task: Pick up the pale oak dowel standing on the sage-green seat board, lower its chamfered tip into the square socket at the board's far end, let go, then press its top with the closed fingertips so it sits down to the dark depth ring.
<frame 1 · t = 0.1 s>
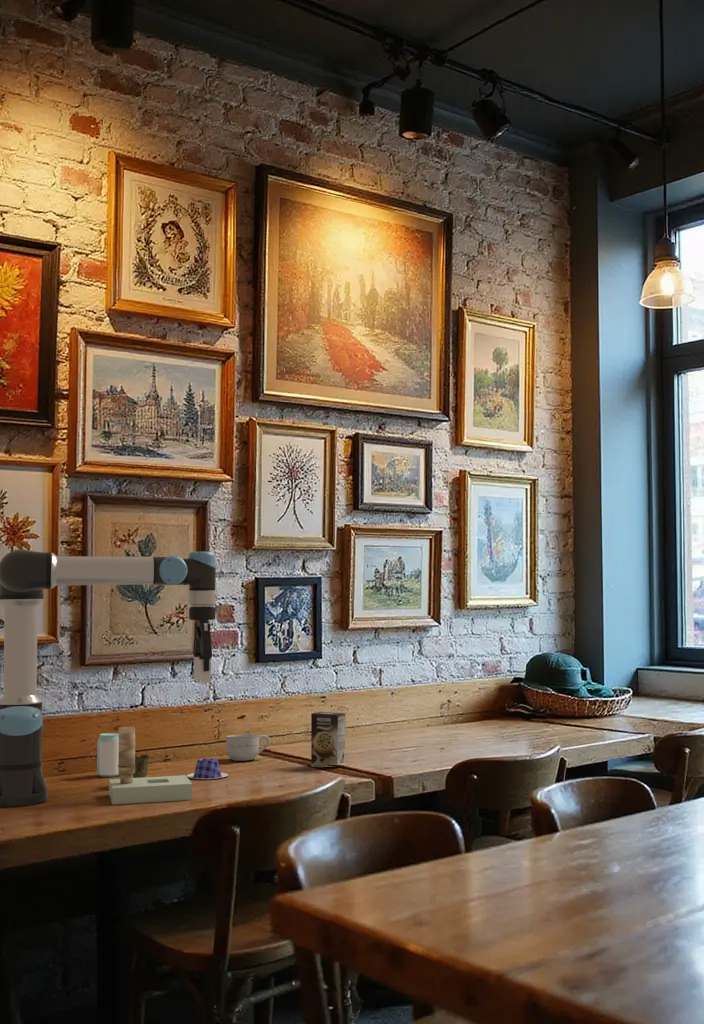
hand: (202, 681, 300), 28 cm above the table, fingers open, 13 cm apart
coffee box: (328, 767, 324), on the table
teacup: (247, 760, 338), on the table
cup: (135, 785, 294), on the table
pudding: (207, 778, 307), on the table
board: (150, 797, 276), on the table
can: (109, 776, 311), on the table
peg: (126, 782, 274), point 4 cm above the table, touching board
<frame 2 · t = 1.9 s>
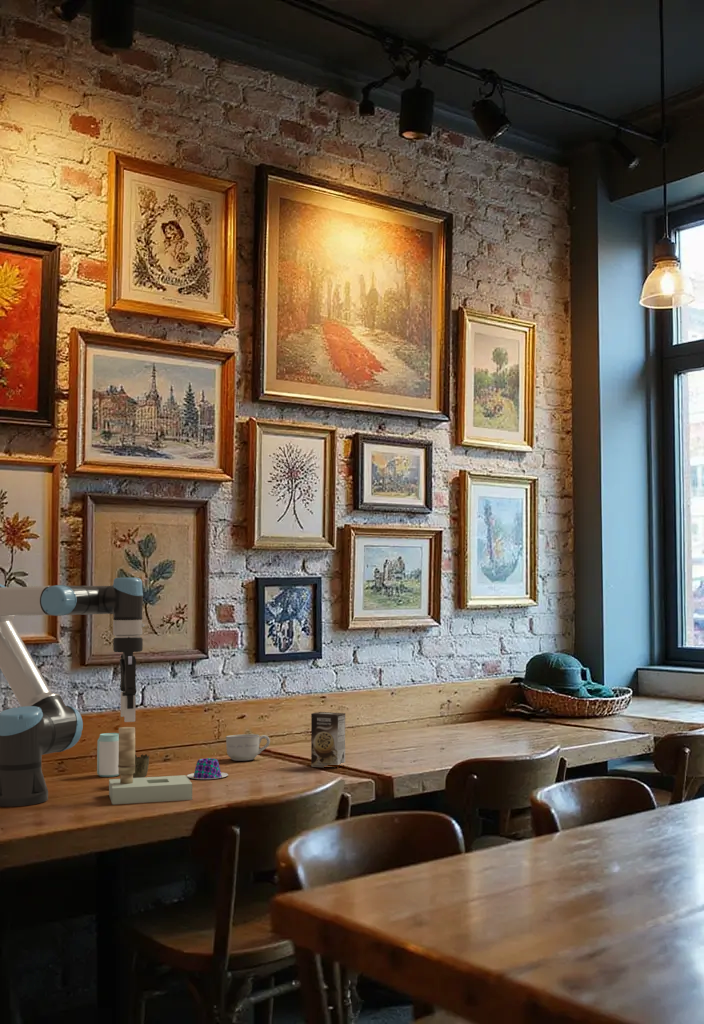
hand: (127, 719, 276), 20 cm above the table, fingers open, 13 cm apart
nothing on the table moved.
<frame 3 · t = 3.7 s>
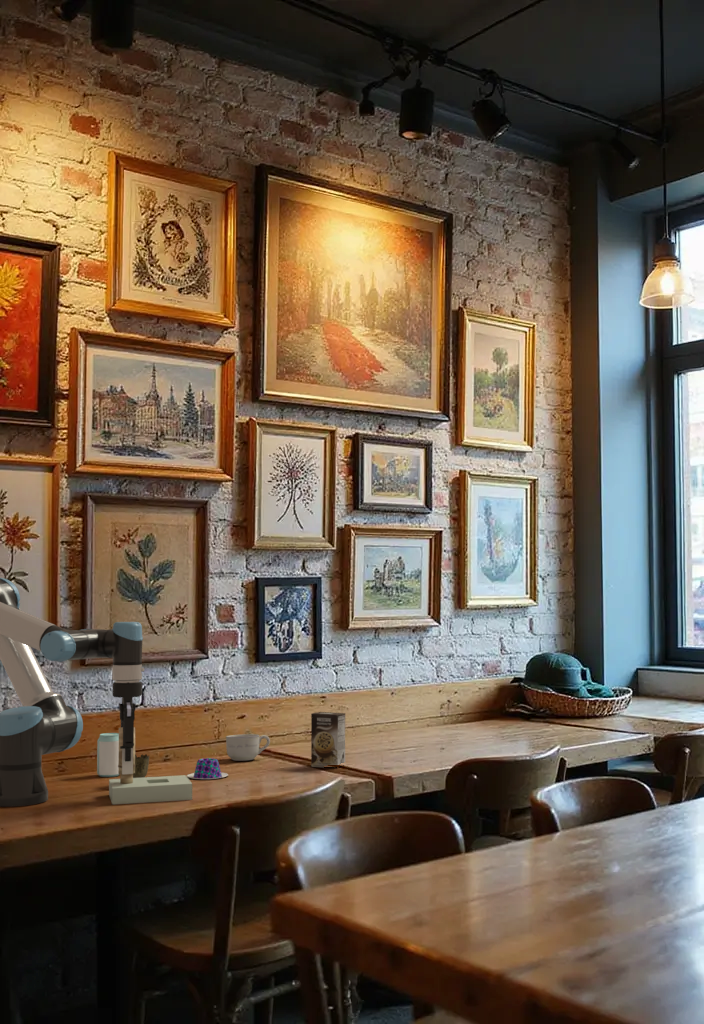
hand: (126, 772, 275), 7 cm above the table, fingers closed on peg, 4 cm apart
peg: (126, 782, 274), point 4 cm above the table, touching board, gripper
everything else where it was.
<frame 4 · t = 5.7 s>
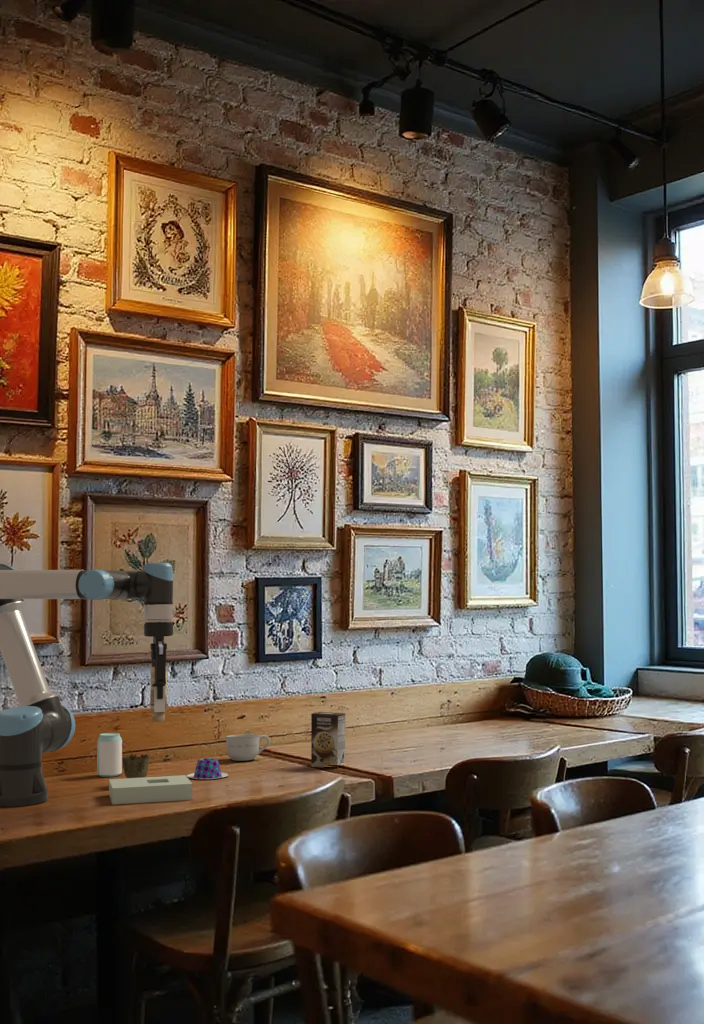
hand: (158, 710, 278), 22 cm above the table, fingers closed on peg, 4 cm apart
peg: (158, 721, 278), point 19 cm above the table, touching gripper
everything else where it was.
when the fingers open (6 cm above the table, at t = 7.8 s): peg drops 3 cm, resting in board.
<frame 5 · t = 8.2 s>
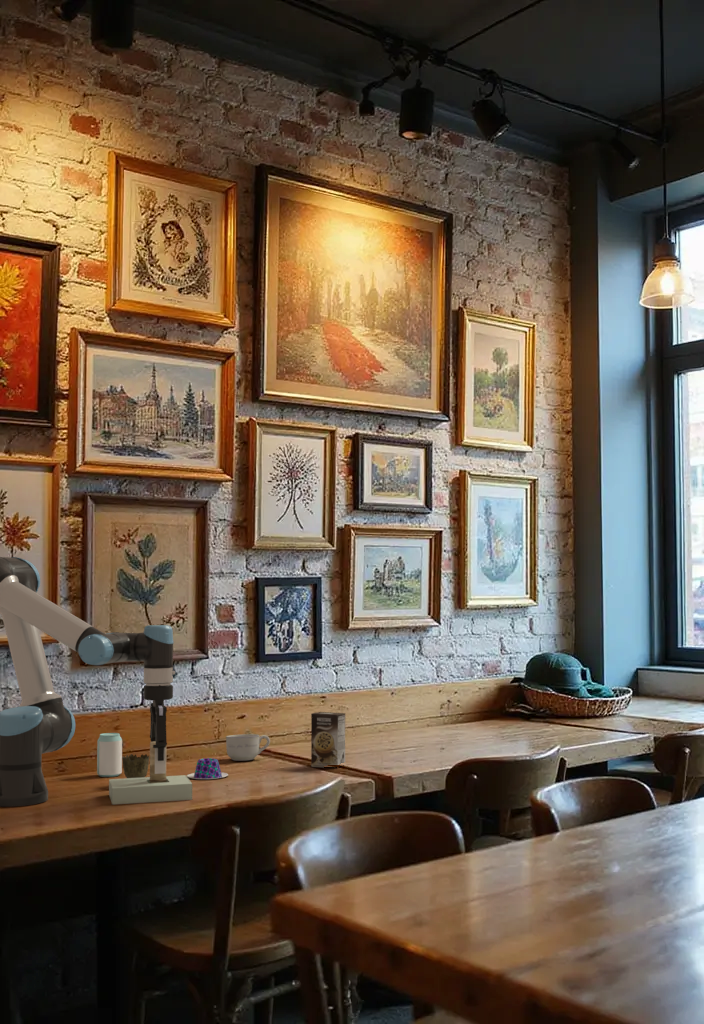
hand: (157, 770, 277), 7 cm above the table, fingers open, 10 cm apart
peg: (157, 796, 276), resting in board
everything else where it was.
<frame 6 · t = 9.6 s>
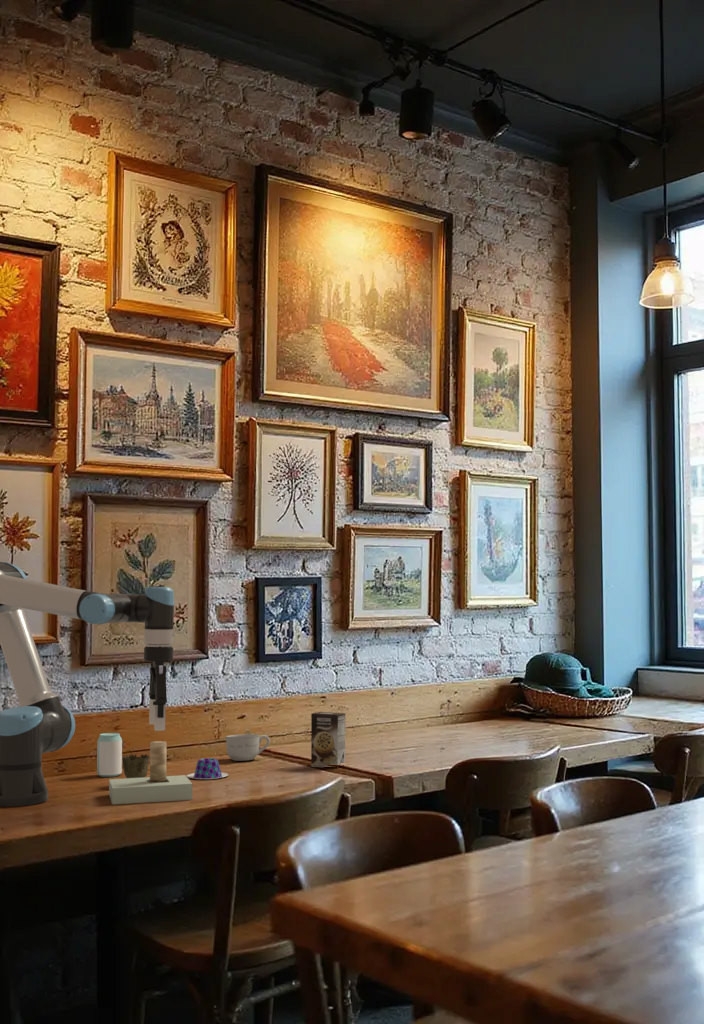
hand: (156, 727, 278), 18 cm above the table, fingers open, 13 cm apart
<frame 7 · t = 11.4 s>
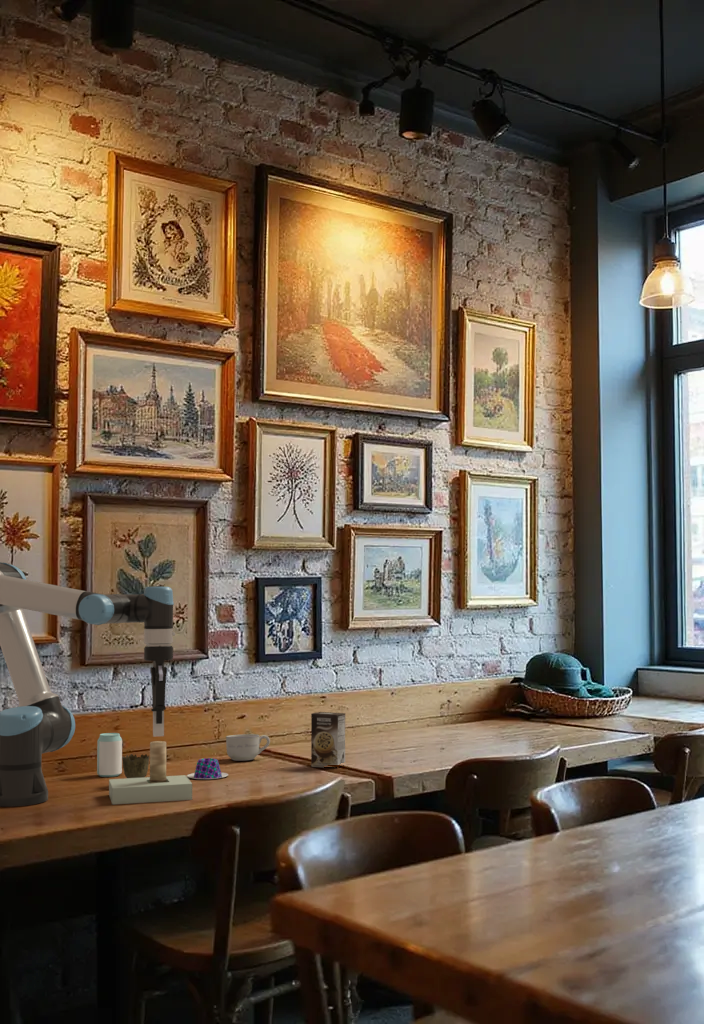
hand: (158, 735, 278), 16 cm above the table, fingers closed
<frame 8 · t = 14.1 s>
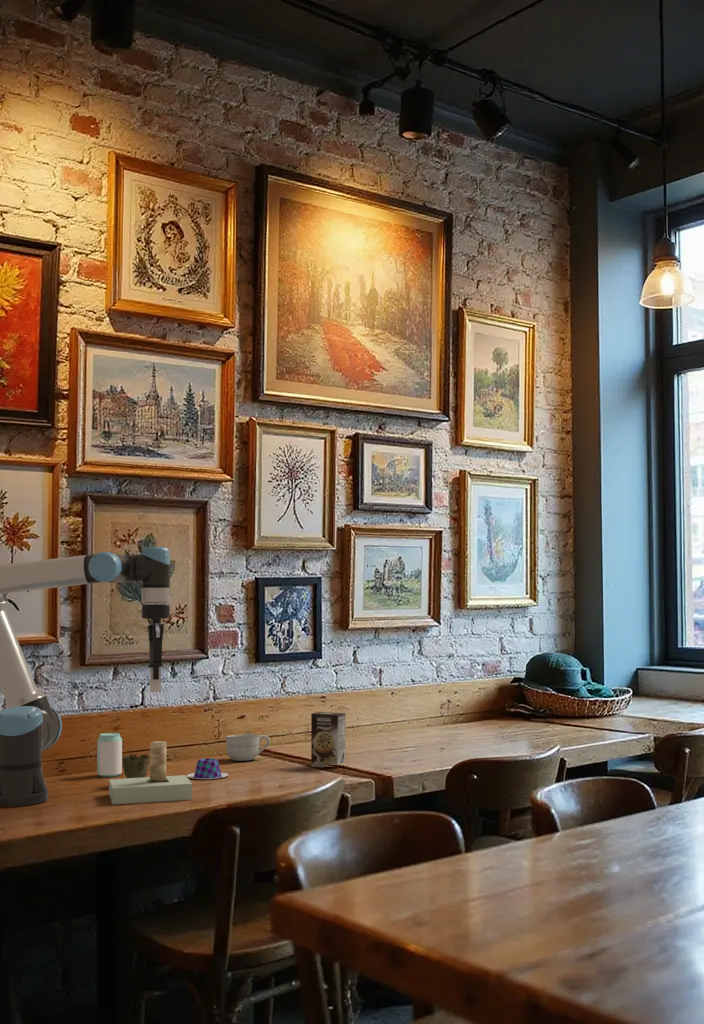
hand: (155, 691, 286), 26 cm above the table, fingers closed
at the end: peg 0.1 cm from the target spot on the board, point 0.0 cm above the board's base; peg tilted 0°; the gripper is holding nothing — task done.
